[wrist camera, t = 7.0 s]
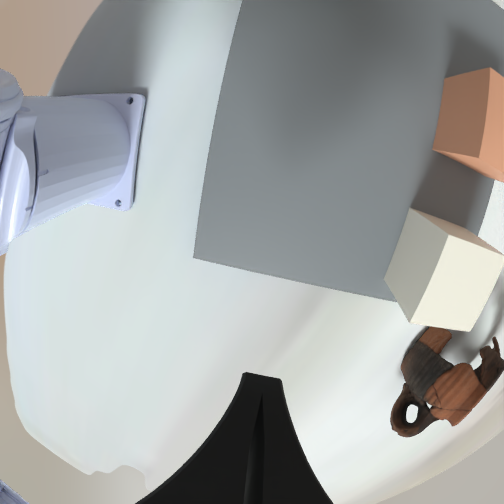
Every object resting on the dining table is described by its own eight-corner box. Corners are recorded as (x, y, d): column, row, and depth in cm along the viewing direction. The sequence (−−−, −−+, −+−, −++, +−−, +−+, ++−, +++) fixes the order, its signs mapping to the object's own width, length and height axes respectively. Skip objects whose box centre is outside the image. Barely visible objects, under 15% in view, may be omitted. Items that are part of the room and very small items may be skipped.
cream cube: (383, 278, 18) (409, 323, 13) (409, 207, 16) (448, 234, 11) (438, 291, 17) (469, 331, 13) (464, 228, 15) (506, 257, 11)
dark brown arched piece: (453, 289, 19) (522, 346, 12) (456, 320, 25) (505, 364, 18) (355, 398, 20) (411, 467, 14) (383, 401, 26) (425, 451, 19)
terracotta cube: (432, 149, 14) (478, 157, 9) (444, 78, 12) (490, 67, 7) (485, 176, 14) (532, 193, 9) (497, 111, 12) (544, 113, 7)
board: (197, 252, 19) (193, 257, 18) (270, -75, 9) (269, -82, 8) (439, 304, 19) (444, 311, 18) (498, 13, 9) (505, 11, 8)
